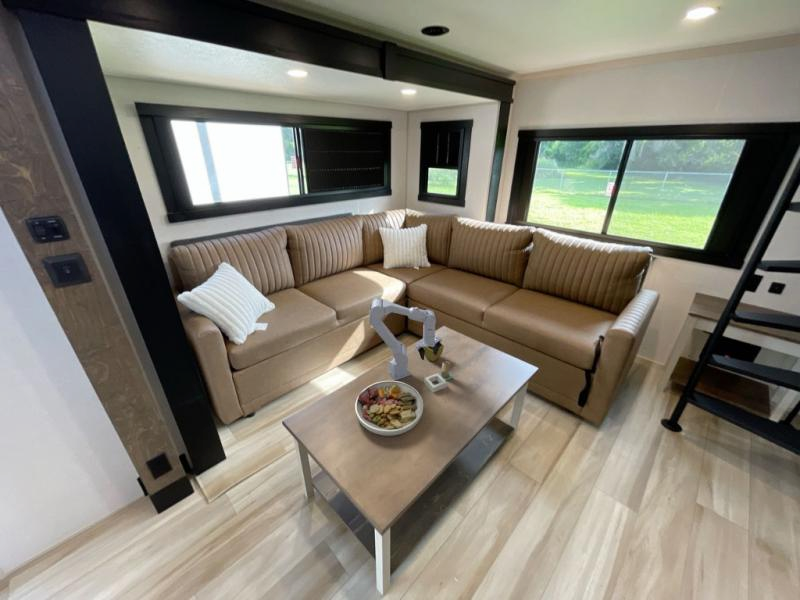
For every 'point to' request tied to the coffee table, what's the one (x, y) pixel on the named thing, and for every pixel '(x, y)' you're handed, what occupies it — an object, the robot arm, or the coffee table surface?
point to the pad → (447, 378)
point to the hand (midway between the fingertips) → (428, 356)
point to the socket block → (436, 387)
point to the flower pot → (430, 354)
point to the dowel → (445, 369)
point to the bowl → (389, 407)
